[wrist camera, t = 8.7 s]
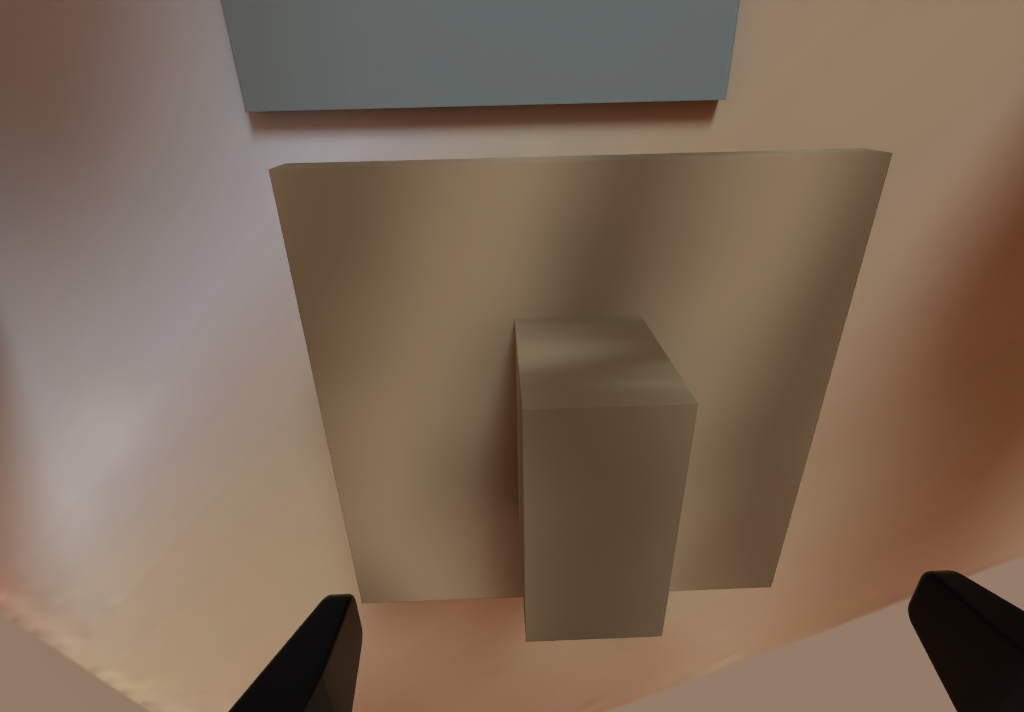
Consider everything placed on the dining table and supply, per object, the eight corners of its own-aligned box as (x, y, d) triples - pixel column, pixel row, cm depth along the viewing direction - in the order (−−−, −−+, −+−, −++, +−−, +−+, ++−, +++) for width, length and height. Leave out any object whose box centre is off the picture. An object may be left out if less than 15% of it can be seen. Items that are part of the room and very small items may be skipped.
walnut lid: (863, 148, 12) (1080, 181, 8) (757, 562, 18) (844, 719, 13) (286, 163, 12) (158, 207, 7) (368, 577, 18) (325, 742, 13)
